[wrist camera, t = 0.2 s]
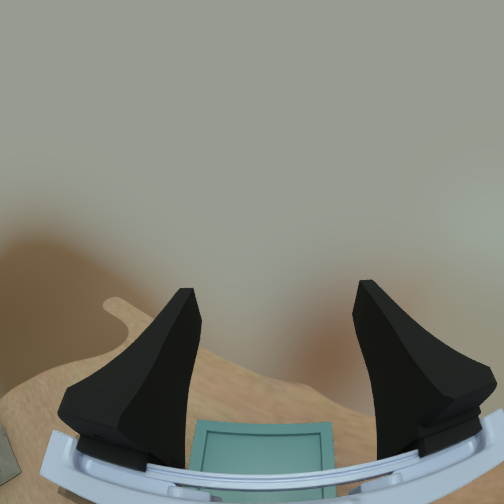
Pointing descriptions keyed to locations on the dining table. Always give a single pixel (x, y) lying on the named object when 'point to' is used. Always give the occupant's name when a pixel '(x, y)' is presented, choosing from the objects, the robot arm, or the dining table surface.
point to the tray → (263, 456)
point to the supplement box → (7, 459)
